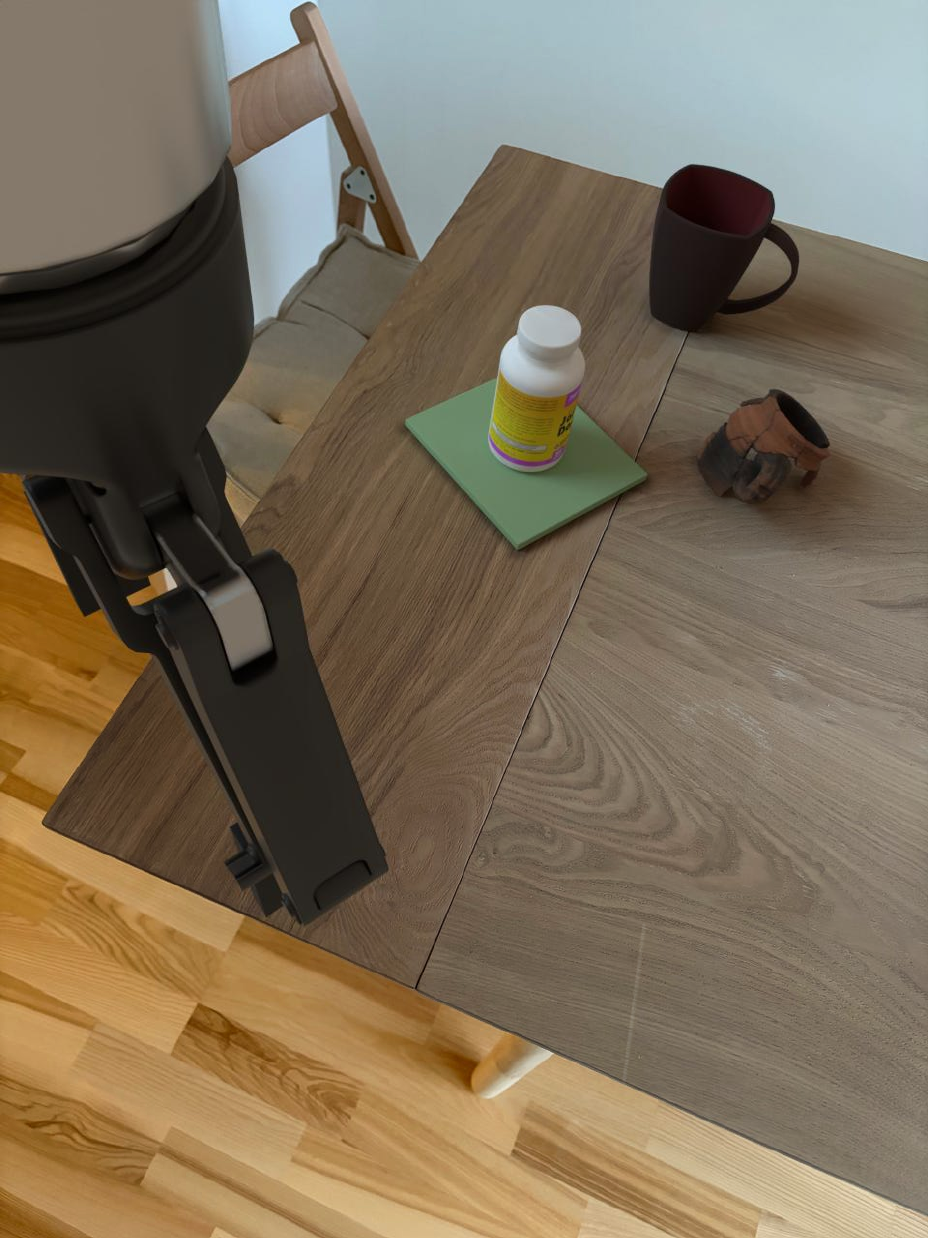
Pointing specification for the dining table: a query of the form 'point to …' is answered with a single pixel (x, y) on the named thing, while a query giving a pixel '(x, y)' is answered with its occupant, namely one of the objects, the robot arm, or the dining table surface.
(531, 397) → the supplement bottle
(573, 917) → the dining table surface
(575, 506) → the green mat
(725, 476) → the pottery mug
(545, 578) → the dining table surface
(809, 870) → the dining table surface
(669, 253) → the mug
